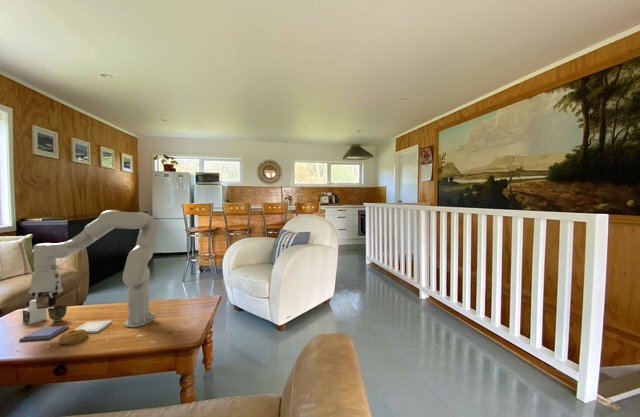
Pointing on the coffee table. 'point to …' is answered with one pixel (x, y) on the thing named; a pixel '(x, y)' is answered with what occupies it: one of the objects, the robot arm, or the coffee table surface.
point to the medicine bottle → (33, 313)
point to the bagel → (73, 336)
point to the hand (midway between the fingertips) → (46, 305)
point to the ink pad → (44, 333)
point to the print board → (94, 326)
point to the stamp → (43, 301)
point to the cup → (57, 313)
